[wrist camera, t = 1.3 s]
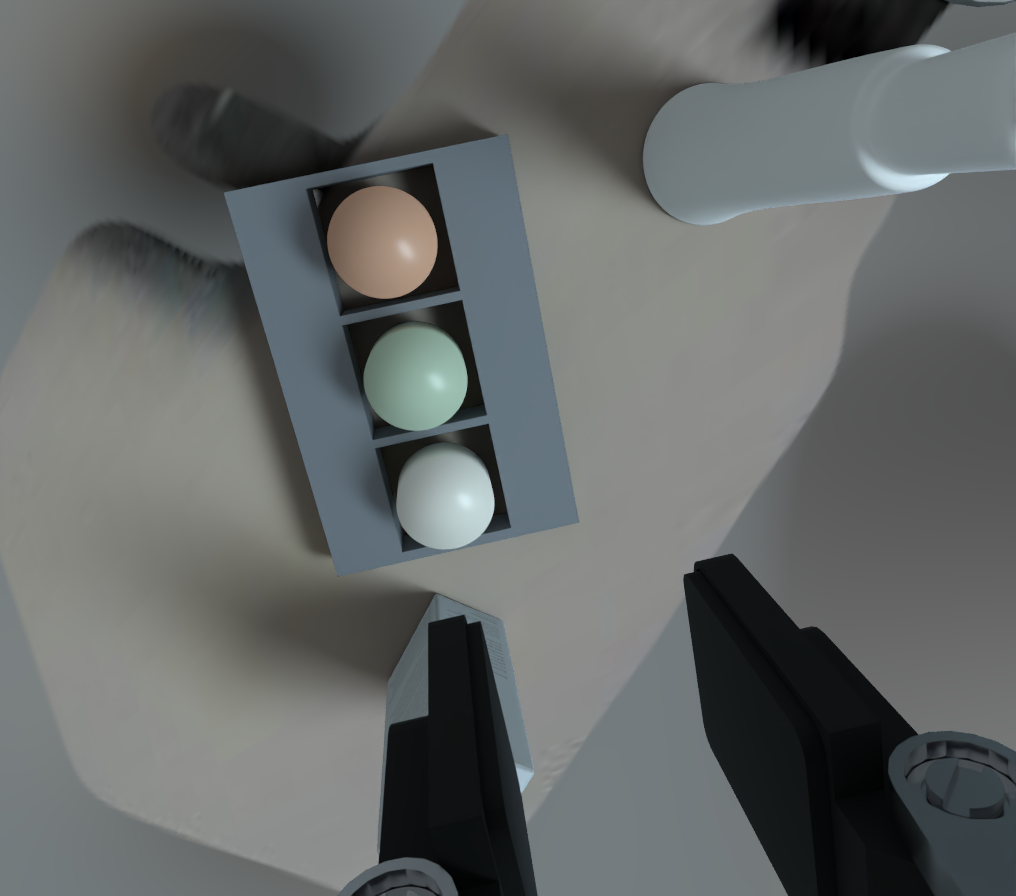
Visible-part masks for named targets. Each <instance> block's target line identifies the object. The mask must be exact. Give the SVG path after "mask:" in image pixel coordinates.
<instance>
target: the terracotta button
mask: <svg viewBox="0 0 1016 896" xmlns="http://www.w3.org/2000/svg"><path fill="white" fill-rule="evenodd" d="M327 245H328V252H329V256H330V259H331V262H332V264H333V266H334V268H335V270H336V271H337V273H338V275H339V276H340V277H341V278H342V279H343V281H345V282H346V283H347V284H348V285H349V286H350V287H352V288H353V289H354V290H356V291H358V292H360V293H362V294H364V295H367V296H370V297H374V298H381V299H389V298H396V297H399V296H403V295H405V294H407V293H409V292H411V291H413V290H414V289H416V288H417V287H418V286H419V285H421V284H422V283H423V281H424V280H425V279H426V278H427V276H428V275H429V274H430V272H431V270H432V268H433V265H434V263H435V260H436V255H437V247H438V246H437V234H436V230H435V226H434V223H433V221H432V219H431V217H430V215H429V213H428V212H427V210H426V209H425V208H424V206H423V205H422V204H421V203H420V202H419V201H418V200H417V199H415V198H414V197H413V196H411V195H409V194H408V193H406V192H404V191H402V190H399V189H396V188H393V187H387V186H373V187H368V188H364V189H361V190H359V191H357V192H355V193H353V194H351V195H350V196H348V197H347V198H346V199H345V200H344V201H343V202H342V203H341V204H340V205H339V206H338V208H337V209H336V211H335V212H334V214H333V216H332V218H331V221H330V224H329V228H328V235H327Z"/></svg>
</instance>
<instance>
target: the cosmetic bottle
mask: <svg viewBox="0 0 1016 896" xmlns="http://www.w3.org/2000/svg"><path fill="white" fill-rule="evenodd" d="M643 169H644V175H645V179H646V182H647V185H648V187H649V190H650V192H651V194H652V195H653V197H654V199H655V200H656V201H657V203H658V204H659V205H660V206H661V207H662V208H663V209H664V210H665V211H666V212H667V213H669V214H670V215H671V216H673V217H675V218H676V219H679V220H681V221H683V222H686V223H690V224H696V225H711V224H717V223H721V222H724V221H726V220H729V219H731V218H733V217H735V216H737V215H740V214H743V213H746V212H750V211H755V210H760V209H766V208H773V207H781V206H789V205H798V204H809V203H819V202H829V201H840V200H849V199H858V198H867V197H875V196H883V195H890V194H897V193H904V192H911V191H916V190H920V189H924V188H926V187H929V186H931V185H933V184H935V183H937V182H939V181H940V180H942V179H943V178H944V177H946V176H947V175H948V174H949V173H961V172H978V171H995V170H1012V169H1016V33H1012V34H1009V35H1005V36H1002V37H999V38H995V39H992V40H988V41H985V42H982V43H978V44H975V45H972V46H968V47H964V48H961V49H958V50H954V51H950V50H948V49H946V48H943V47H940V46H936V45H930V44H919V45H912V46H907V47H902V48H897V49H892V50H888V51H883V52H878V53H874V54H869V55H865V56H861V57H856V58H852V59H848V60H844V61H840V62H835V63H831V64H827V65H824V66H820V67H816V68H812V69H808V70H804V71H800V72H796V73H792V74H788V75H784V76H780V77H776V78H772V79H767V80H762V81H757V82H752V83H745V84H722V83H703V84H699V85H695V86H692V87H689V88H687V89H685V90H683V91H681V92H679V93H678V94H677V95H675V96H674V97H672V98H671V99H670V100H669V101H668V102H667V103H666V104H665V105H664V106H663V107H662V108H661V109H660V111H659V112H658V113H657V115H656V116H655V118H654V120H653V121H652V123H651V125H650V128H649V130H648V132H647V136H646V139H645V144H644V149H643Z"/></svg>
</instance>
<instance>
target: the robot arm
mask: <svg viewBox="0 0 1016 896" xmlns="http://www.w3.org/2000/svg"><path fill="white" fill-rule="evenodd" d="M945 1H948V2H950V3H953V4H960V5H966V6H975V7H985V6H996V5H1005V4H1008V3H1011V2H1015V1H1016V0H945ZM683 581H684V589H685V596H686V603H687V610H688V617H689V624H690V632H691V639H692V646H693V652H694V660H695V666H696V673H697V681H698V688H699V695H700V702H701V709H702V717H703V723H704V728H705V732H706V736H707V739H708V742H709V744H710V747H711V749H712V751H713V753H714V755H715V757H716V758H717V760H718V762H719V764H720V766H721V768H722V770H723V772H724V774H725V776H726V778H727V780H728V782H729V783H730V785H731V787H732V789H733V791H734V793H735V795H736V797H737V798H738V801H739V802H740V804H741V806H742V808H743V810H744V812H745V814H746V816H747V818H748V820H749V822H750V824H751V825H752V827H753V829H754V831H755V833H756V835H757V837H758V839H759V841H760V843H761V845H762V846H763V848H764V850H765V852H766V854H767V856H768V858H769V860H770V862H771V863H772V866H773V867H774V869H775V871H776V873H777V875H778V877H779V879H780V881H781V883H782V885H783V887H784V888H785V890H786V892H787V894H788V896H1016V751H1014V750H1012V749H1010V748H1008V747H1006V746H1004V745H1003V744H1001V743H999V742H997V741H994V740H991V739H987V738H984V737H981V736H978V735H975V734H969V733H963V732H955V731H940V732H939V731H938V732H927V733H924V734H920V735H918V734H917V733H916V731H914V729H913V728H912V727H911V726H910V725H909V724H908V723H907V722H906V721H905V720H904V719H903V717H902V716H901V715H900V714H898V712H897V711H896V710H895V709H894V708H893V707H892V706H891V705H890V703H889V702H888V701H887V700H886V699H885V698H884V697H883V696H882V695H881V694H880V693H879V692H878V690H876V688H875V687H874V686H873V685H872V684H871V683H870V682H869V681H868V680H867V679H866V678H865V676H864V675H863V674H862V673H861V672H860V671H859V670H858V669H857V668H856V667H855V666H854V665H853V664H852V663H851V661H850V660H848V658H847V657H846V656H845V655H844V654H843V653H842V652H841V651H840V650H839V649H838V647H837V646H836V645H835V644H834V643H833V642H832V641H831V640H830V639H829V638H828V637H827V636H826V634H825V633H823V632H822V631H821V630H820V629H818V628H817V627H812V626H811V627H807V628H803V629H799V628H798V627H797V625H796V624H795V623H794V622H793V621H792V620H791V619H790V617H789V616H788V615H787V614H786V613H785V612H784V611H783V610H782V608H781V607H780V606H779V605H778V604H777V603H776V602H775V600H774V599H773V598H772V597H771V596H770V595H769V594H768V592H767V591H766V590H765V589H764V588H763V587H762V586H761V585H760V583H759V582H758V581H757V580H756V579H755V578H754V577H753V575H752V574H751V573H750V572H749V571H748V570H747V569H746V568H745V566H744V565H743V564H742V563H741V562H740V561H739V559H738V558H737V557H736V556H734V555H733V554H728V555H723V556H719V557H715V558H710V559H706V560H701V561H697V562H695V564H694V572H693V573H688V574H684V580H683ZM337 896H537V890H536V884H535V878H534V871H533V865H532V859H531V852H530V846H529V841H528V834H527V828H526V821H525V815H524V809H523V803H522V796H521V791H520V785H519V780H518V775H517V771H516V766H515V762H514V758H513V754H512V749H511V745H510V741H509V737H508V733H507V728H506V724H505V720H504V716H503V712H502V707H501V703H500V699H499V695H498V691H497V686H496V682H495V678H494V674H493V669H492V665H491V661H490V657H489V653H488V648H487V644H486V640H485V636H484V632H483V628H482V624H481V621H478V622H473V623H469V624H467V620H466V617H465V615H460V616H455V617H451V618H446V619H442V620H438V621H433V622H429V623H428V715H427V716H423V717H419V718H414V719H410V720H406V721H401V722H397V723H393V724H391V725H390V726H389V731H388V741H387V755H386V769H385V783H384V797H383V810H382V824H381V838H380V852H379V864H378V865H376V866H374V867H372V868H369V869H367V870H365V871H364V872H363V873H361V874H360V875H359V876H357V877H356V878H355V879H353V880H352V881H350V882H349V883H348V884H347V885H346V886H345V887H344V888H343V890H342V891H341V892H340V893H339V894H338V895H337Z"/></svg>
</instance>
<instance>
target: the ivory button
mask: <svg viewBox="0 0 1016 896" xmlns="http://www.w3.org/2000/svg"><path fill="white" fill-rule="evenodd" d="M396 508H397V514H398V518H399V521H400V523H401V525H402V527H403V528H404V530H405V531H406V532H407V533H408V534H409V535H410V536H411V537H412V538H413V539H414V540H416V541H417V542H419V543H420V544H423V545H425V546H427V547H430V548H435V549H443V550H444V549H455V548H459V547H462V546H465V545H467V544H469V543H471V542H472V541H474V540H475V539H477V538H478V537H479V536H480V535H481V534H482V533H483V532H484V531H485V529H486V528H487V527H488V525H489V523H490V521H491V519H492V516H493V512H494V494H493V490H492V485H491V481H490V477H489V473H488V470H487V468H486V466H485V464H484V463H483V461H482V460H481V459H480V457H479V456H478V455H477V454H475V453H474V452H473V451H471V450H470V449H468V448H466V447H464V446H462V445H459V444H455V443H448V442H442V443H434V444H431V445H428V446H425V447H423V448H421V449H419V450H418V451H416V452H415V453H414V454H413V455H412V456H411V457H410V458H409V459H408V460H407V461H406V463H405V464H404V466H403V468H402V470H401V473H400V476H399V481H398V491H397V501H396Z"/></svg>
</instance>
